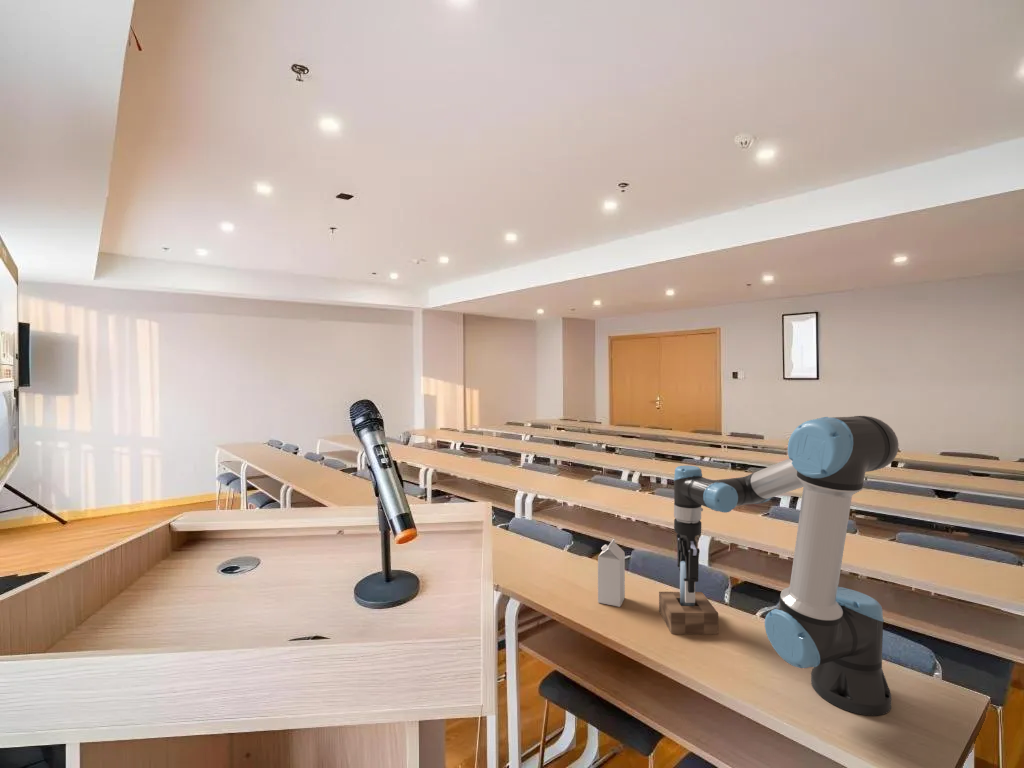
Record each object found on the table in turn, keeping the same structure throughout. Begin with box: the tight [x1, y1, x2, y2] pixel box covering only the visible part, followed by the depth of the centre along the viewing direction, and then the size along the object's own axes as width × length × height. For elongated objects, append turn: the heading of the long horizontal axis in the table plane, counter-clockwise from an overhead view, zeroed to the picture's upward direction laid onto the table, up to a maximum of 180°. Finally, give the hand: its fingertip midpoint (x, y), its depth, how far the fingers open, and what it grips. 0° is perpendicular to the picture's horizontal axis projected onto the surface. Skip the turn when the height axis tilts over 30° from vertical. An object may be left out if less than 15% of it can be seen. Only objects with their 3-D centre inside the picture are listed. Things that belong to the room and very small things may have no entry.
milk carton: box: [597, 538, 626, 608], centre depth 158 cm, size 7×7×19 cm
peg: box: [679, 561, 695, 606], centre depth 144 cm, size 4×4×14 cm
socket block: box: [658, 591, 719, 635], centre depth 145 cm, size 13×13×6 cm
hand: (687, 598), depth 144 cm, fingers closed on peg, 4 cm apart
